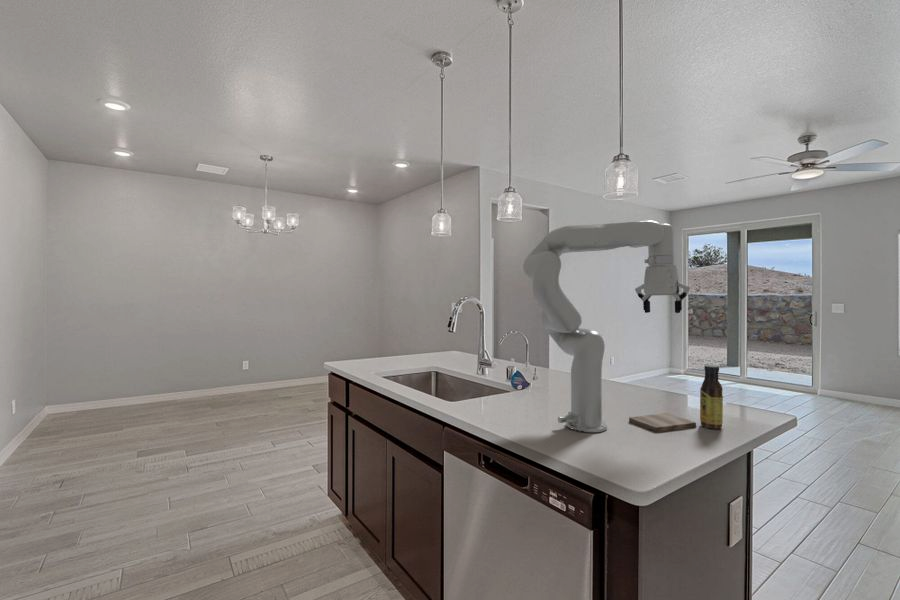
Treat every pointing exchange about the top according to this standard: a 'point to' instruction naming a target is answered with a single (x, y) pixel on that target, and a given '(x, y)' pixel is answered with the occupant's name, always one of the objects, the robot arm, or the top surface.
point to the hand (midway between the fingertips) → (662, 312)
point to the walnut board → (662, 422)
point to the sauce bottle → (711, 399)
